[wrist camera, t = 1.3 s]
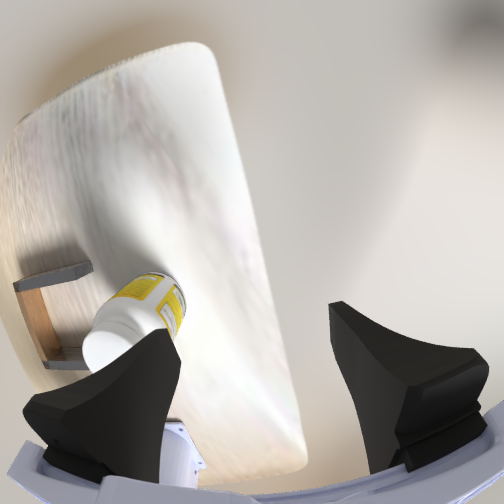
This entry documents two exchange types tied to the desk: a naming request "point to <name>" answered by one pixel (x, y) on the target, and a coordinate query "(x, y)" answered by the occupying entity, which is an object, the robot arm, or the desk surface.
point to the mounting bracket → (40, 320)
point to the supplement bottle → (133, 318)
